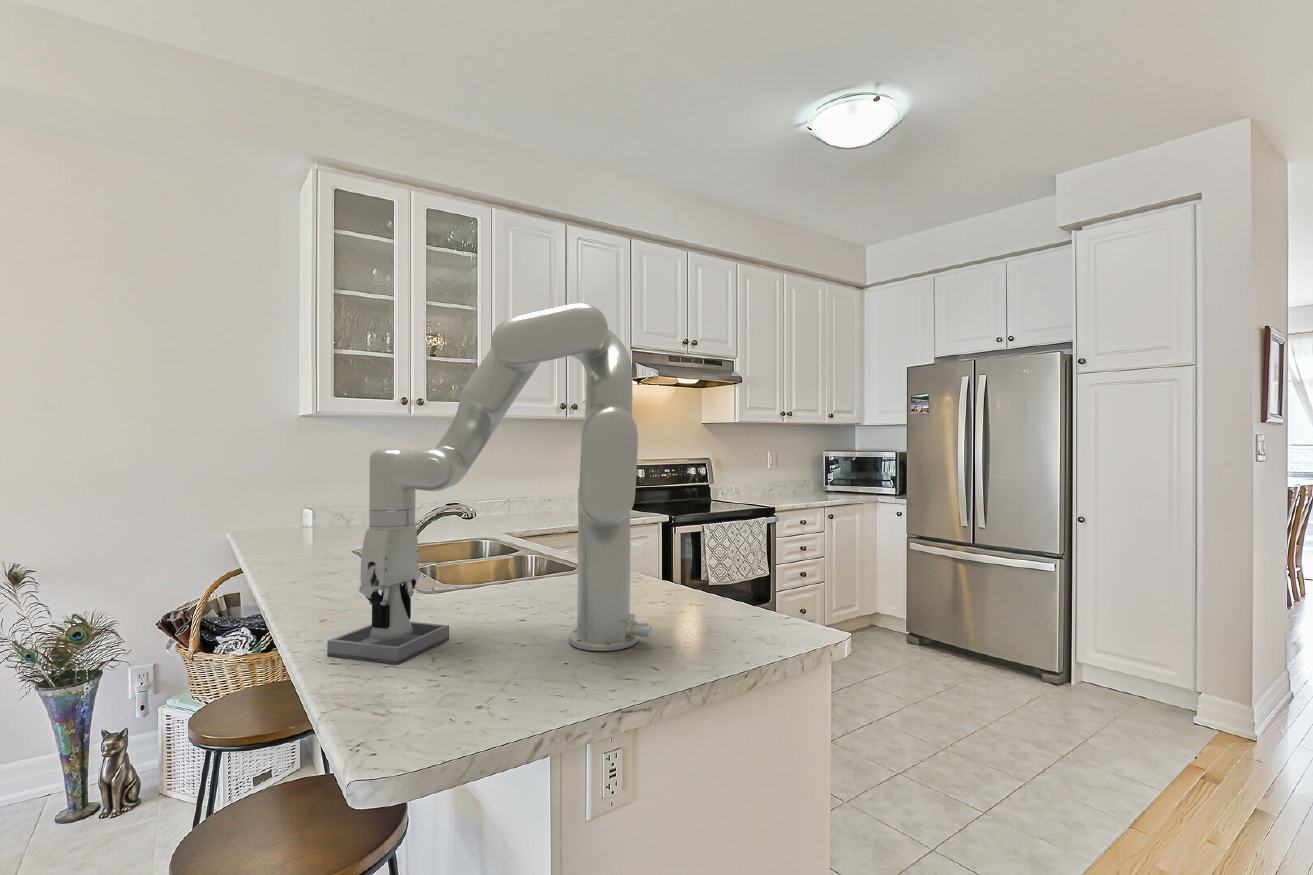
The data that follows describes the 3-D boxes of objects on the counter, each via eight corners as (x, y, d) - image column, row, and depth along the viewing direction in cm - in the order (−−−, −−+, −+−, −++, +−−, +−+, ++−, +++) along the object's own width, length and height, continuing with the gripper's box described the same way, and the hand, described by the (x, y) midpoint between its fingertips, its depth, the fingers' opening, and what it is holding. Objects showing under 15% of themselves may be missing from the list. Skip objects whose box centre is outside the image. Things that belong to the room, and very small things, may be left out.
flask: (419, 629, 117) (420, 573, 117) (403, 641, 110) (403, 582, 110) (380, 628, 117) (380, 573, 117) (361, 640, 110) (361, 581, 110)
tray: (449, 639, 118) (449, 625, 118) (397, 664, 105) (397, 648, 105) (385, 632, 122) (385, 618, 122) (327, 655, 109) (327, 640, 109)
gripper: (406, 513, 123) (405, 609, 123) (338, 524, 107) (337, 635, 107) (440, 514, 121) (439, 612, 121) (376, 526, 104) (375, 639, 104)
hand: (391, 622), depth 114 cm, fingers closed on flask, 4 cm apart
